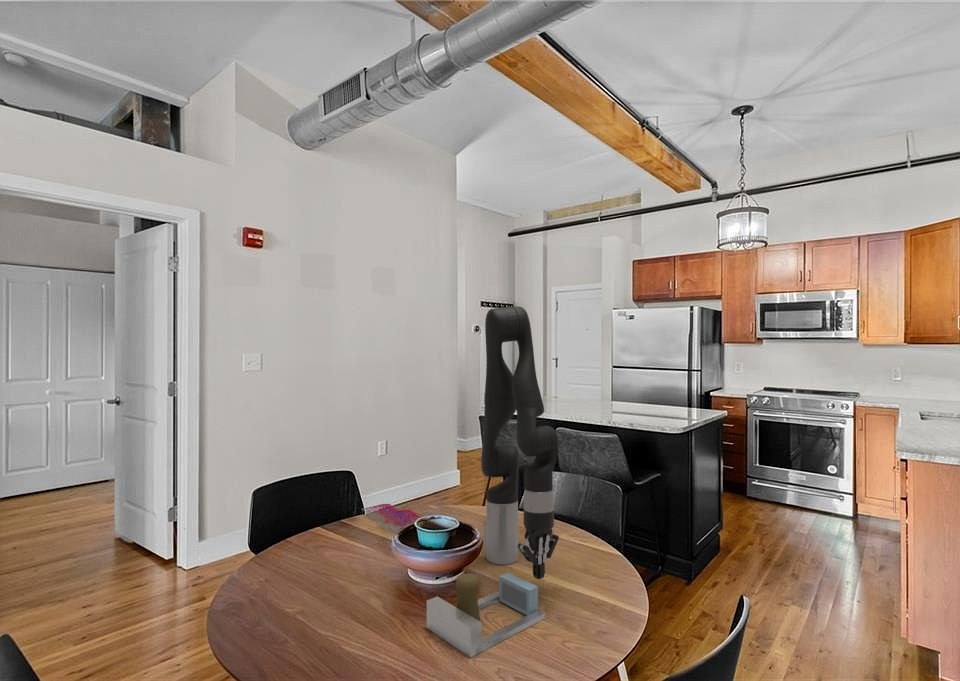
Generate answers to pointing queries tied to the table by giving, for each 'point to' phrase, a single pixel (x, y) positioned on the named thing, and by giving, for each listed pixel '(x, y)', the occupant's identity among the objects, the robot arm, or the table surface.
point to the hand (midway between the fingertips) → (538, 577)
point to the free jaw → (518, 593)
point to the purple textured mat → (392, 516)
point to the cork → (468, 594)
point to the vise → (471, 625)
